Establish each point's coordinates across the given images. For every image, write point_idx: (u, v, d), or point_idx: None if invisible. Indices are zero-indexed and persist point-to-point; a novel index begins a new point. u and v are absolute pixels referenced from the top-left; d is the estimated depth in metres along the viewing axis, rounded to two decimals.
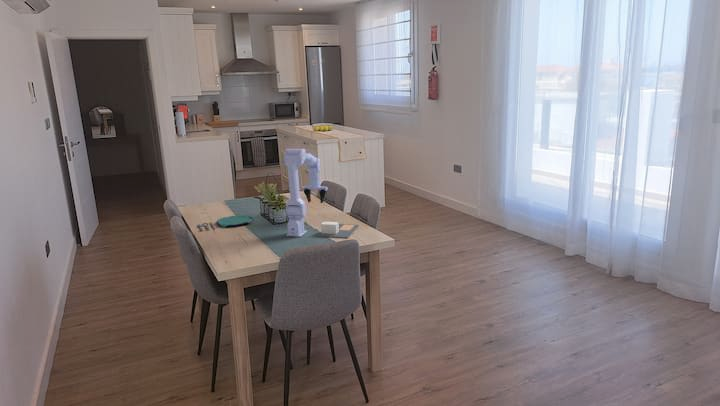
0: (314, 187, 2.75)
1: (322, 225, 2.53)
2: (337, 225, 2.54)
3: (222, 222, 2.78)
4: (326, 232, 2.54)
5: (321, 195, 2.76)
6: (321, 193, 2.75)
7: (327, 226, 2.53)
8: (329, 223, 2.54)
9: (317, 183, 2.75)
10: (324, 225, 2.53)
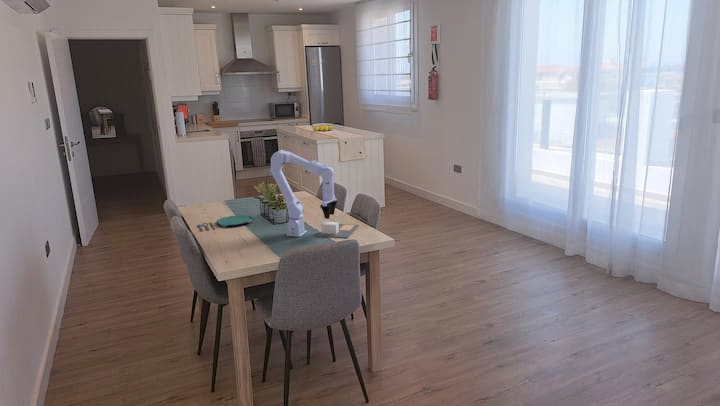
0: (323, 199, 2.51)
1: (322, 225, 2.53)
2: (337, 225, 2.54)
3: (222, 222, 2.78)
4: (326, 232, 2.54)
5: None
6: None
7: (327, 226, 2.53)
8: (329, 223, 2.54)
9: (324, 195, 2.49)
10: (324, 225, 2.53)
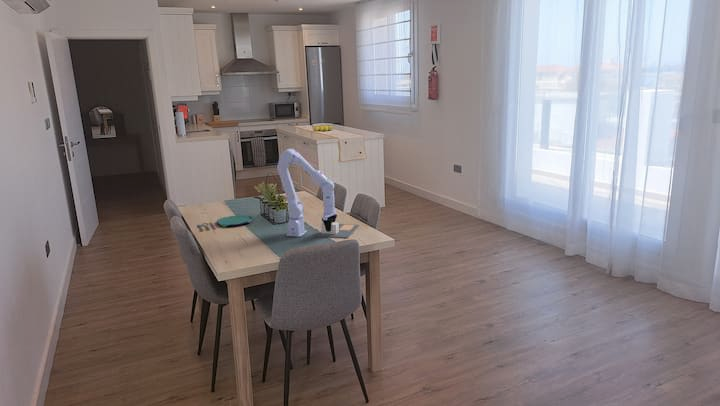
0: None
1: (322, 225, 2.53)
2: (337, 225, 2.54)
3: (222, 222, 2.79)
4: (326, 232, 2.54)
5: None
6: None
7: None
8: None
9: (324, 209, 2.51)
10: (324, 225, 2.53)
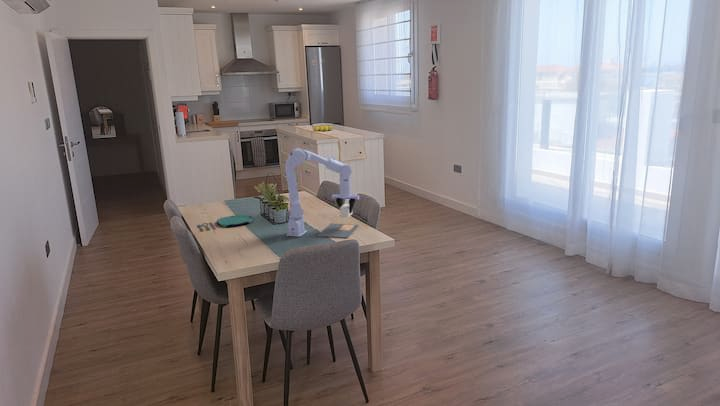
0: (345, 196, 2.56)
1: (348, 209, 2.57)
2: None
3: (222, 222, 2.79)
4: (349, 215, 2.60)
5: (350, 204, 2.57)
6: (351, 202, 2.57)
7: (349, 208, 2.60)
8: (347, 206, 2.60)
9: (348, 192, 2.56)
10: (349, 208, 2.58)
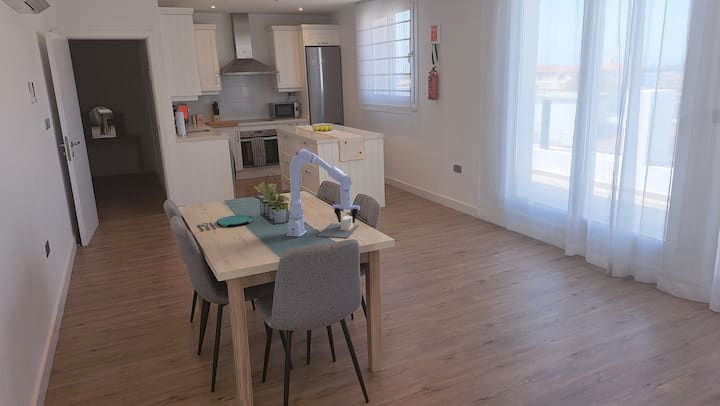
0: (346, 206, 2.58)
1: (349, 221, 2.59)
2: None
3: (222, 222, 2.79)
4: (350, 227, 2.62)
5: (353, 215, 2.59)
6: (353, 213, 2.58)
7: (350, 220, 2.62)
8: (347, 218, 2.62)
9: (349, 202, 2.58)
10: (349, 220, 2.60)
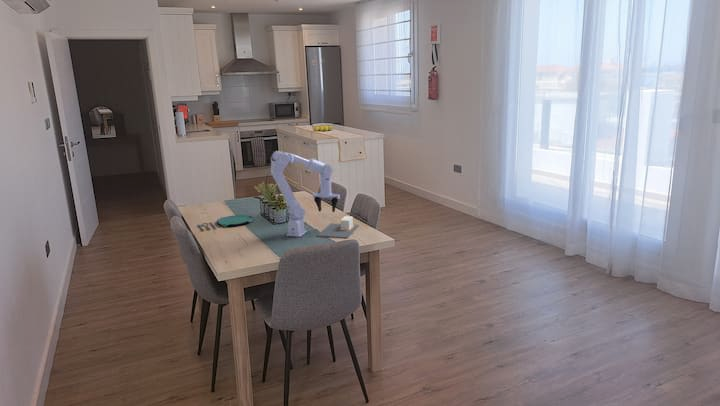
0: (326, 195, 2.58)
1: (349, 221, 2.59)
2: None
3: (222, 222, 2.79)
4: (350, 227, 2.62)
5: (333, 204, 2.59)
6: (333, 201, 2.58)
7: (350, 220, 2.62)
8: (347, 218, 2.62)
9: (329, 191, 2.58)
10: (349, 220, 2.60)
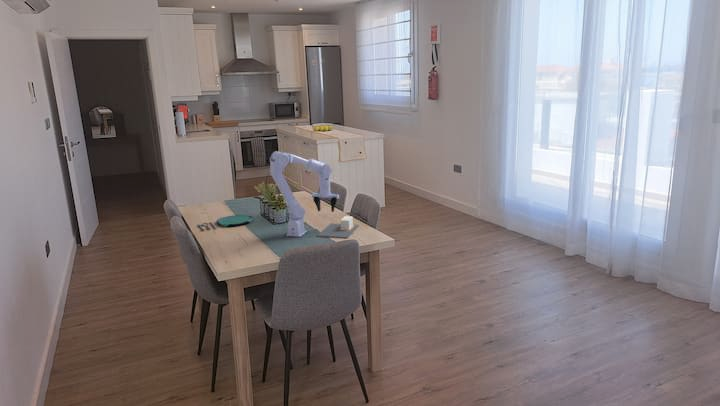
0: (325, 195, 2.58)
1: (349, 221, 2.59)
2: None
3: (222, 222, 2.79)
4: (350, 227, 2.62)
5: (332, 203, 2.59)
6: (332, 201, 2.58)
7: (350, 220, 2.62)
8: (347, 218, 2.62)
9: (328, 191, 2.58)
10: (349, 220, 2.60)
